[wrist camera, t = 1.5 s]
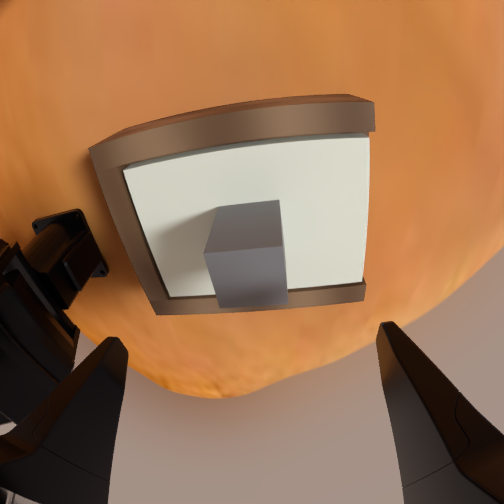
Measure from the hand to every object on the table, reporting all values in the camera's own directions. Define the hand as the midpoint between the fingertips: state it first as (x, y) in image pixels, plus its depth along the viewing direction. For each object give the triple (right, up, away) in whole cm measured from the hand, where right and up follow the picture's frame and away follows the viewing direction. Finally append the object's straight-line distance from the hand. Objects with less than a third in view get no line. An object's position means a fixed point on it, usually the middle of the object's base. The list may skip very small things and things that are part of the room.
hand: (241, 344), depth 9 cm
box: (0, +7, +10) cm, 12 cm away
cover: (0, +5, +7) cm, 8 cm away
